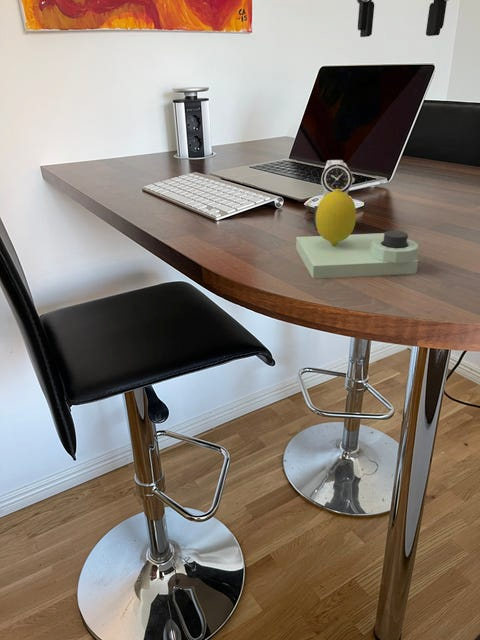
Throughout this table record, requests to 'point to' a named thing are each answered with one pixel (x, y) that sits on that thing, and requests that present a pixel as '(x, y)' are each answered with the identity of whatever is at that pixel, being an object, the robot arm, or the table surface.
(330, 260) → the scale
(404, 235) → the button
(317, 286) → the table surface
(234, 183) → the table surface
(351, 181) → the watch
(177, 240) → the table surface
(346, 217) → the lemon
